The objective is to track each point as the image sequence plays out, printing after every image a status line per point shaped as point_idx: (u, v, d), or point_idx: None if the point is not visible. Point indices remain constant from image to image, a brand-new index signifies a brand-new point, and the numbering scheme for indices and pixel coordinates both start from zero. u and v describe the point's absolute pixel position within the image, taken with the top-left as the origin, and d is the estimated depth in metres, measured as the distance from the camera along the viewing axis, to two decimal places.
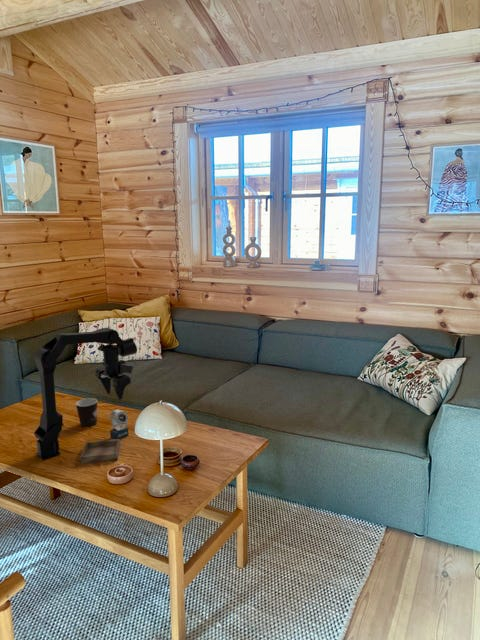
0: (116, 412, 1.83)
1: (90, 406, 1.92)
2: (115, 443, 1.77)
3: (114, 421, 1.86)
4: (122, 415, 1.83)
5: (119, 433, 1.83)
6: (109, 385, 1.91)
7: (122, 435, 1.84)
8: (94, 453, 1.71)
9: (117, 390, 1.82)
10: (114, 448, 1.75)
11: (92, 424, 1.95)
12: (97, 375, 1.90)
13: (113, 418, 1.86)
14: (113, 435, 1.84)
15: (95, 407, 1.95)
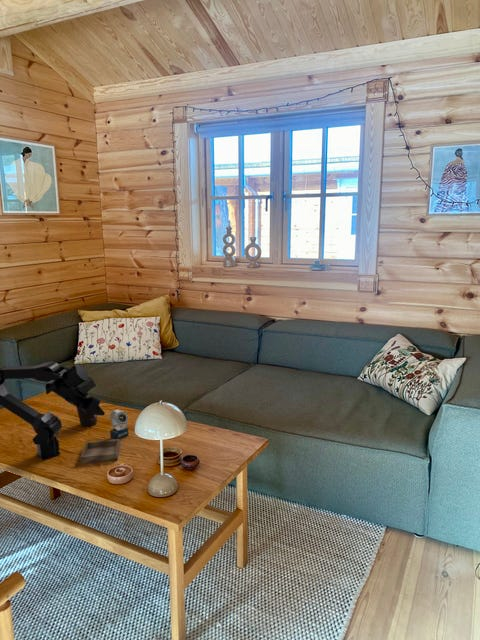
0: (116, 412, 1.83)
1: None
2: (115, 443, 1.77)
3: (114, 421, 1.86)
4: (122, 415, 1.83)
5: (119, 433, 1.83)
6: None
7: (122, 435, 1.84)
8: (94, 453, 1.71)
9: (94, 413, 1.70)
10: (114, 448, 1.75)
11: (92, 424, 1.95)
12: (69, 402, 1.77)
13: (113, 418, 1.86)
14: (113, 435, 1.84)
15: None
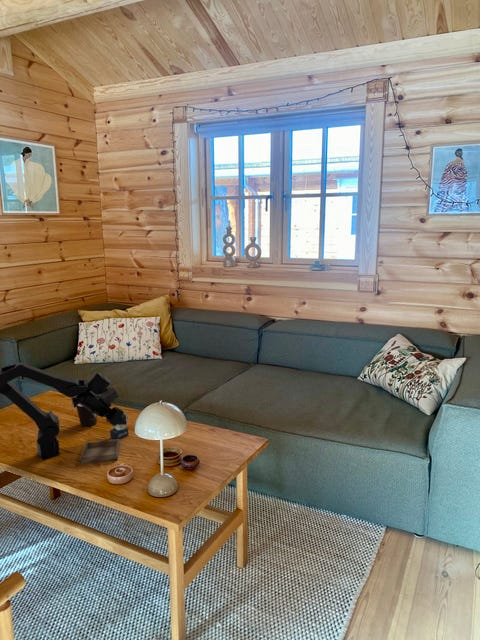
0: None
1: None
2: (115, 443, 1.77)
3: None
4: (122, 415, 1.83)
5: (119, 433, 1.83)
6: None
7: (122, 435, 1.84)
8: (94, 453, 1.71)
9: (117, 423, 1.77)
10: (114, 448, 1.75)
11: (92, 424, 1.95)
12: None
13: None
14: (113, 435, 1.84)
15: None
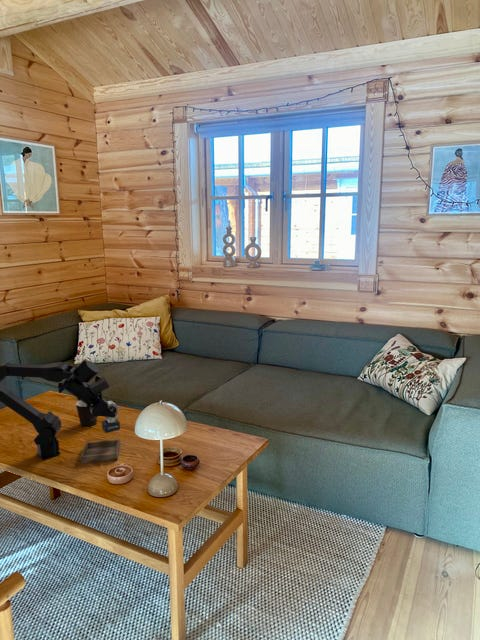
0: None
1: (90, 406, 1.92)
2: (115, 443, 1.77)
3: None
4: (112, 407, 1.74)
5: (108, 426, 1.74)
6: None
7: (112, 428, 1.75)
8: (94, 453, 1.71)
9: (102, 415, 1.69)
10: (114, 448, 1.75)
11: (92, 424, 1.95)
12: None
13: None
14: (103, 427, 1.75)
15: None
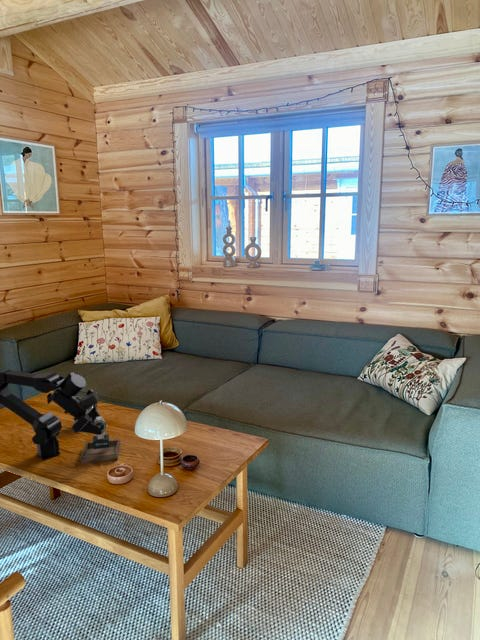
0: (96, 419, 1.68)
1: None
2: (115, 443, 1.77)
3: None
4: (100, 424, 1.68)
5: (96, 442, 1.69)
6: None
7: (100, 445, 1.70)
8: (94, 453, 1.71)
9: (86, 431, 1.64)
10: (114, 448, 1.75)
11: None
12: None
13: None
14: None
15: None
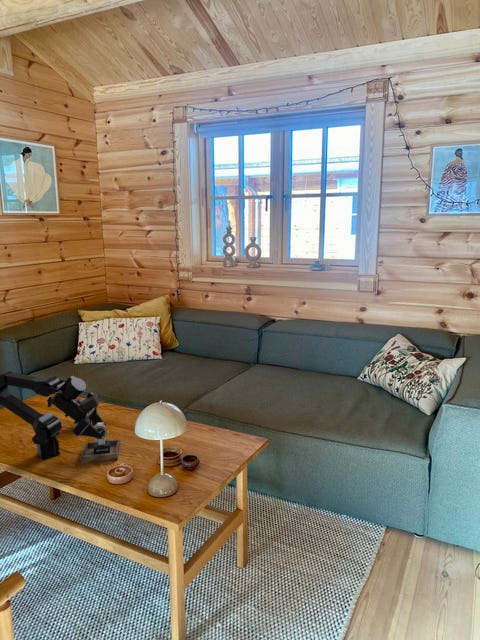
0: (97, 425, 1.69)
1: None
2: (115, 443, 1.77)
3: None
4: (101, 430, 1.68)
5: (97, 448, 1.69)
6: (99, 419, 1.74)
7: (101, 451, 1.70)
8: None
9: (87, 434, 1.63)
10: (114, 448, 1.75)
11: (92, 424, 1.95)
12: None
13: None
14: None
15: None
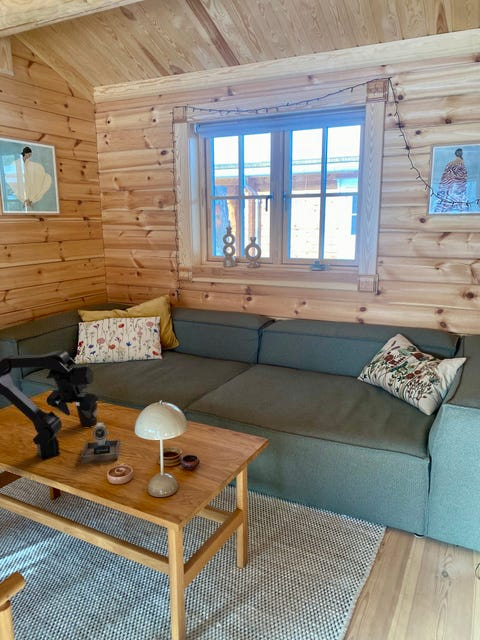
0: (97, 425, 1.69)
1: None
2: (115, 443, 1.77)
3: None
4: (101, 430, 1.68)
5: (97, 448, 1.69)
6: (66, 407, 1.76)
7: (101, 451, 1.70)
8: None
9: (86, 412, 1.70)
10: (114, 448, 1.75)
11: (92, 424, 1.95)
12: (51, 404, 1.71)
13: None
14: None
15: (95, 407, 1.95)
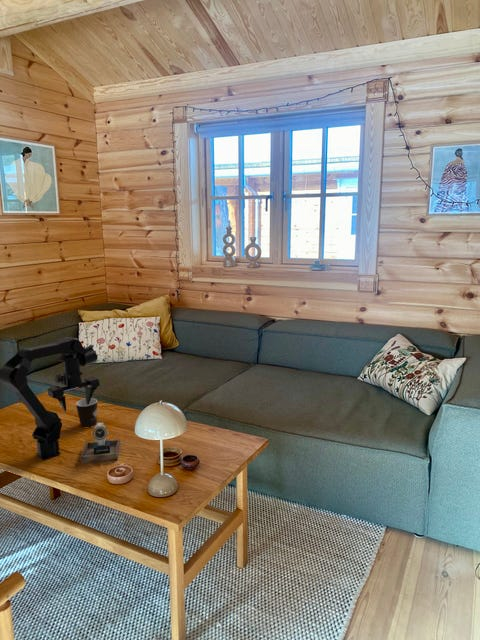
0: (97, 425, 1.69)
1: (90, 406, 1.92)
2: (115, 443, 1.77)
3: None
4: (101, 430, 1.68)
5: (97, 448, 1.69)
6: None
7: (101, 451, 1.70)
8: None
9: None
10: (114, 448, 1.75)
11: (92, 424, 1.95)
12: (60, 395, 1.74)
13: None
14: None
15: (95, 407, 1.95)
